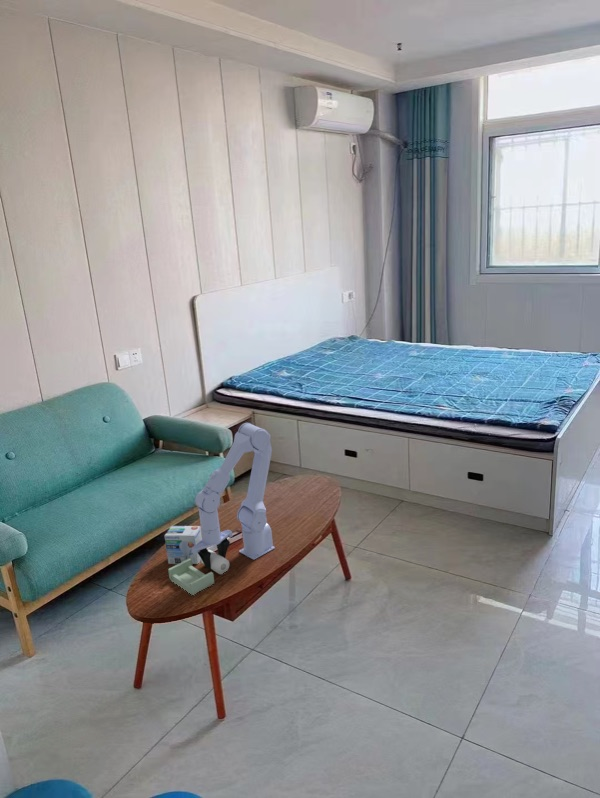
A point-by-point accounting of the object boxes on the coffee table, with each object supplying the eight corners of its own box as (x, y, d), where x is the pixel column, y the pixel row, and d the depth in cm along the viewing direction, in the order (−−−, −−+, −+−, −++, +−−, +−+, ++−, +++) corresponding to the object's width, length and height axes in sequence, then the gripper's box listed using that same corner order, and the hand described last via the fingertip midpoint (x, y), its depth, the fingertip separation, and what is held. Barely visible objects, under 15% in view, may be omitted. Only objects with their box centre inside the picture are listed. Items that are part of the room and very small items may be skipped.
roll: (201, 566, 191) (199, 553, 190) (213, 560, 194) (211, 546, 193) (217, 577, 185) (216, 563, 183) (230, 570, 188) (228, 556, 187)
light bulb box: (167, 564, 194) (163, 535, 191) (174, 553, 201) (170, 525, 197) (198, 564, 192) (194, 535, 189) (204, 553, 199) (201, 525, 196)
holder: (169, 580, 185) (168, 569, 184) (191, 569, 190) (189, 558, 189) (192, 596, 176) (191, 584, 175) (214, 584, 181) (213, 572, 180)
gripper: (221, 514, 193) (225, 551, 197) (183, 531, 183) (189, 569, 187) (234, 521, 188) (238, 558, 192) (196, 539, 178) (202, 578, 182)
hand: (215, 564), depth 189 cm, fingers closed on roll, 5 cm apart
